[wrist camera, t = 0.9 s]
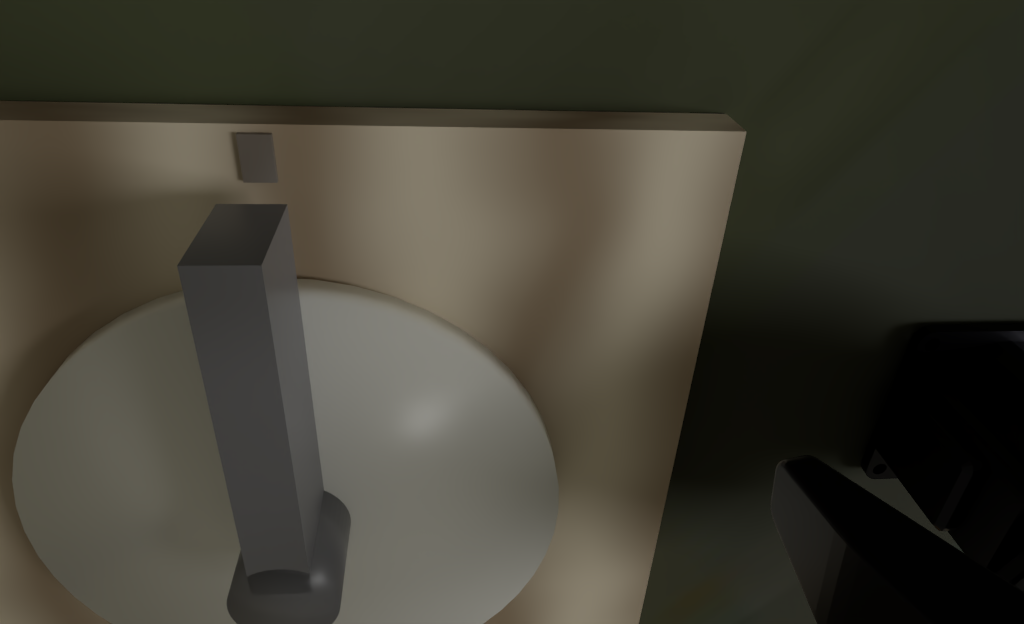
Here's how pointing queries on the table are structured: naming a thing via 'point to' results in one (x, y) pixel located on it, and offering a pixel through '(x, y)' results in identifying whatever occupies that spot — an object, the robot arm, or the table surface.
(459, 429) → the dial
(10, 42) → the table surface
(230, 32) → the table surface
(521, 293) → the dial base
